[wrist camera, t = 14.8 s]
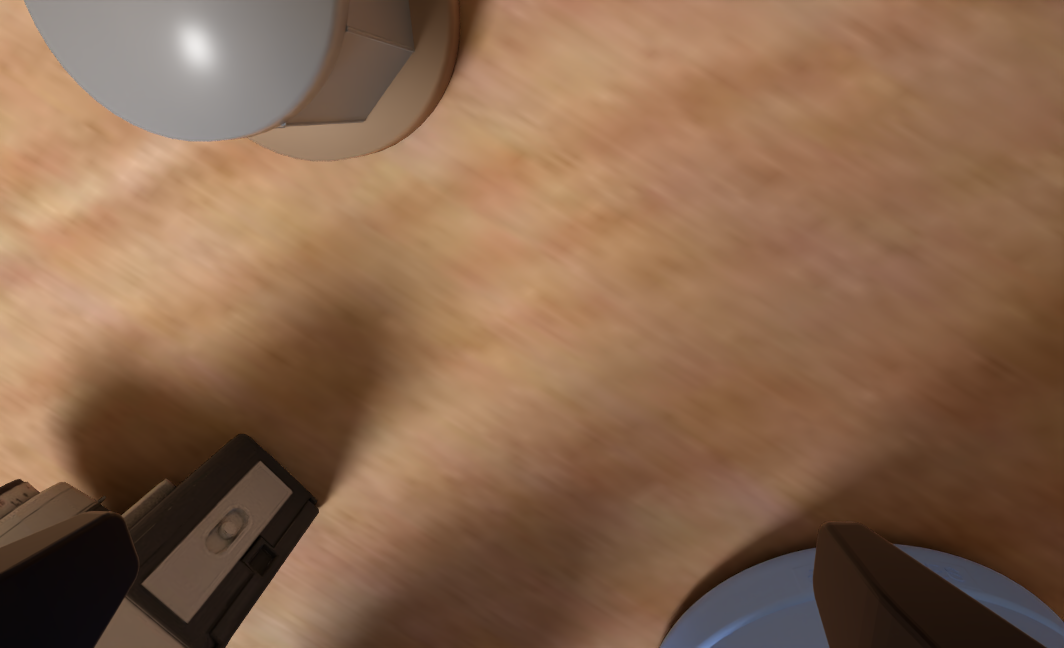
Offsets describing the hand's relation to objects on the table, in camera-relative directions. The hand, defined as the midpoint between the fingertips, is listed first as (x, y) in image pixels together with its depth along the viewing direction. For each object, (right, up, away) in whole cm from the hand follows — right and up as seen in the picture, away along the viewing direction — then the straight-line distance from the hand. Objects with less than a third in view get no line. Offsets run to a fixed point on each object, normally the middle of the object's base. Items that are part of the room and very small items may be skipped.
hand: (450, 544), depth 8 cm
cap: (-5, +11, +8) cm, 14 cm away
